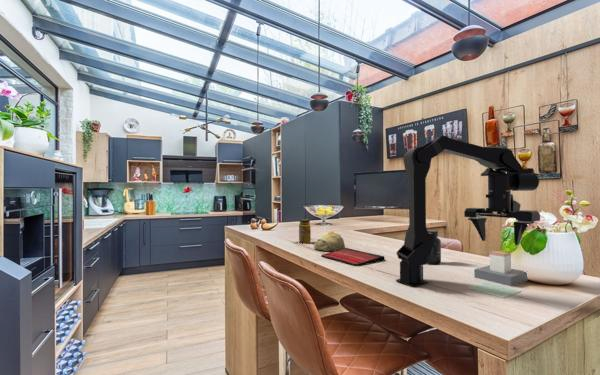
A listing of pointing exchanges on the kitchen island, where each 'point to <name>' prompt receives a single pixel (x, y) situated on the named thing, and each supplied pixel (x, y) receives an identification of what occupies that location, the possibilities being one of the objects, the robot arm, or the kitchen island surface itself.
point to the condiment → (304, 232)
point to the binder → (353, 257)
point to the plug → (500, 261)
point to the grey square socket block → (501, 276)
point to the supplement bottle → (435, 250)
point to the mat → (494, 289)
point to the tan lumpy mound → (330, 242)
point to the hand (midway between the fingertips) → (499, 242)
